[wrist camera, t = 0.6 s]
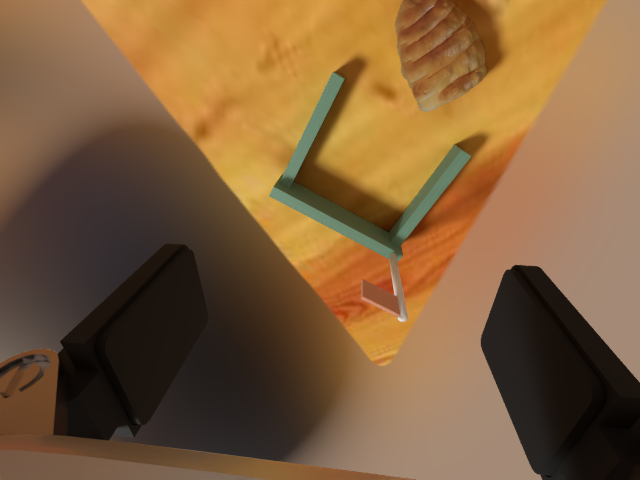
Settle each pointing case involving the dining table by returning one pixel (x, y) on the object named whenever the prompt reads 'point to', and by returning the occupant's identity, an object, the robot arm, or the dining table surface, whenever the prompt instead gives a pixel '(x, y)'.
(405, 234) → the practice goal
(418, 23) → the pastry
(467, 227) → the dining table surface
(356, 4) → the dining table surface
